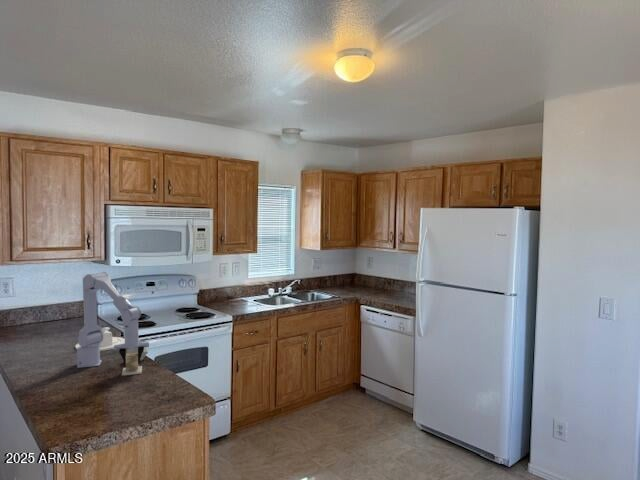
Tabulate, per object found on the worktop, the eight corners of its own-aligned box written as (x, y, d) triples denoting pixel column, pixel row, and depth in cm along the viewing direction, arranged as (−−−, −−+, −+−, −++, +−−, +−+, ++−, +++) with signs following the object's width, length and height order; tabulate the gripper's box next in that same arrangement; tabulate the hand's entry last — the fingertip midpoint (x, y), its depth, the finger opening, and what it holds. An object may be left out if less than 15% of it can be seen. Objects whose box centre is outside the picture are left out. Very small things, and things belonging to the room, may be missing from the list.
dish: (127, 348, 237) (126, 327, 237) (73, 354, 227) (73, 332, 226) (125, 337, 260) (124, 318, 259) (76, 342, 249) (75, 322, 248)
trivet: (121, 375, 196) (121, 373, 196) (123, 369, 204) (123, 367, 204) (141, 373, 199) (141, 371, 199) (142, 367, 206) (142, 365, 206)
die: (134, 365, 211) (147, 347, 214) (119, 355, 213) (133, 337, 215) (141, 366, 219) (153, 348, 222) (127, 356, 221) (139, 338, 223)
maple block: (125, 370, 198) (125, 357, 197) (126, 366, 202) (126, 353, 202) (137, 369, 199) (137, 355, 199) (138, 365, 204) (138, 352, 204)
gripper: (112, 338, 194) (113, 368, 195) (148, 335, 199) (149, 365, 200) (114, 334, 201) (115, 363, 201) (149, 331, 205) (149, 360, 206)
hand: (132, 364), depth 201 cm, fingers closed on maple block, 5 cm apart
